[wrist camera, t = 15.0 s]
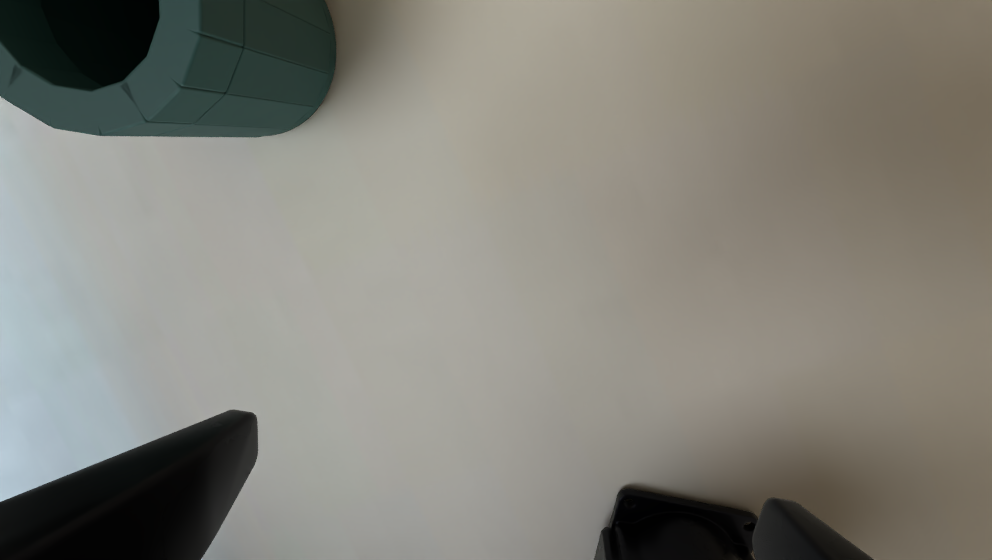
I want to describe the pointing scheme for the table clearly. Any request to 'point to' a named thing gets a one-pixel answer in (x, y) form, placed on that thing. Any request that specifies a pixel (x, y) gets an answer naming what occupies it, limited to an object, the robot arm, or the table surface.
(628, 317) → the table surface
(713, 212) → the table surface
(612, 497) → the table surface
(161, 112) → the jar
